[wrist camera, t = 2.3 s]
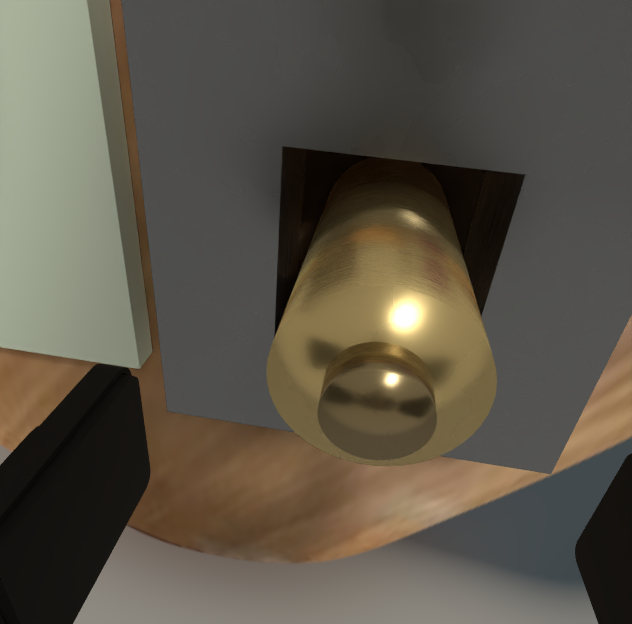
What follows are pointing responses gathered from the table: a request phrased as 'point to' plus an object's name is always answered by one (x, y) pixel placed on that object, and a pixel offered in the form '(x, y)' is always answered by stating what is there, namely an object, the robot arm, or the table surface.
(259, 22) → the housing
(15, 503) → the robot arm
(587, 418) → the table surface
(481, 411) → the tan cylindrical piece
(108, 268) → the board
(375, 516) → the table surface
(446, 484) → the table surface
